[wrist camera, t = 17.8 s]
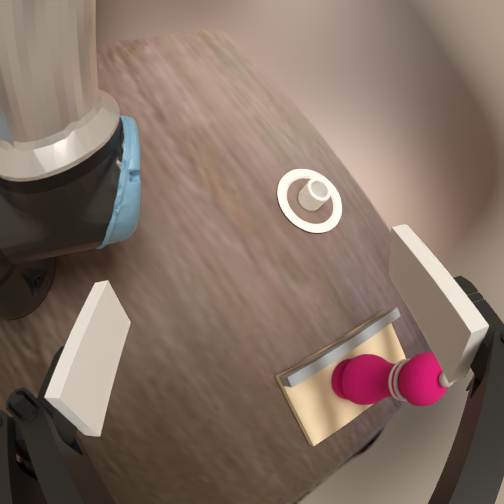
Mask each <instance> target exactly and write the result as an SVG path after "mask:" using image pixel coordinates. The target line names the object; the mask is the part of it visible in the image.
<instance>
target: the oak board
mask: <svg viewBox="0 0 504 504" xmlns="http://www.w3.org/2000/svg"><path fill="white" fill-rule="evenodd" d="M400 316H401V315H400V313H399V311H398V308H397V307H396V308H393V309H389V310H386V311H382V312H379V313H378V314H377V315H375V316H374V317H372V318H371V319H369V320H368V321H366V322H365V323H363V324H362V325H360V326H358V327H357V328H355V329H354V330H352V331H351V332H349V333H348V334H346V335H344V336H343V337H341V338H340V339H338V340H336V341H335V342H333V343H332V344H330V345H328V346H327V347H325V348H323V349H322V350H320V351H318V352H317V353H315V354H313V355H312V356H310V357H308V358H306V359H305V360H303V361H301V362H299V363H298V364H296V365H294V366H292V367H291V368H289V369H287V370H285V371H283V372H282V373H280V374H278V375H276V376H275V377H276V379H277V381H278V383H279V385H280V387H281V389H282V391H283V393H284V395H285V397H286V399H287V401H288V403H289V405H290V407H291V409H292V411H293V413H294V415H295V417H296V419H297V421H298V423H299V425H300V427H301V429H302V431H303V433H304V435H305V437H306V439H307V441H308V443H309V444H311V445H313V446H315V445H316V444H318V443H319V442H321V441H322V440H324V439H325V438H327V437H328V436H330V435H331V434H333V433H334V432H336V431H337V430H339V429H340V428H341V427H343V426H344V425H346V424H347V423H348V422H350V421H351V420H353V419H354V418H355V417H357V416H358V415H359V414H361V413H362V412H363V411H365V410H366V409H367V408H369V407H370V406H371V405H372V404H371V405H358V404H355V403H353V402H351V401H350V400H346V399H342V398H340V397H339V396H337V395H336V393H335V392H334V390H333V387H332V382H331V380H332V374H333V371H334V369H335V367H336V366H337V365H338V364H339V363H340V362H341V361H343V360H345V359H351V358H355V357H356V356H359V355H362V354H374V355H377V356H380V357H382V358H384V359H385V360H387V361H388V362H390V363H394V364H396V363H397V362H398V361H400V360H402V359H406V358H405V355H404V353H403V350H402V348H401V345H400V343H399V341H398V338H397V336H396V334H395V331H394V329H393V327H392V324H391V323H392V322H393V321H394V320H396V319H397V318H398V317H400Z"/></svg>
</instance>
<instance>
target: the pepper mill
mask: <svg viewBox="0 0 504 504" xmlns="http://www.w3.org/2000/svg"><path fill="white" fill-rule="evenodd" d="M331 382H332V387H333V390H334V392H335V393H336V395H337V396H339V397H340V398H342V399H346V400H350V401H351V402H353V403H355V404H358V405H371V404H374V403H377V402H379V401H381V400H382V399H384V398H385V397H389V396H393V397H394V398H395V399H397V400H399V401H408V402H409V403H411V404H413V405H416V406H428V405H432V404H434V403H435V402H437V401H438V400H439V399H441V398H442V396H443V395H444V394H445V392H446V390H447V388H448V387H449V386H451V385H452V384H453V383H454V382H452V383H449V382H448V380H447V378H446V376H445V374H444V372H443V370H442V369H441V367H440V365H439V363H438V361H437V359H436V357H435V355H434V353H421V354H417V355H416V356H414V357H413V358H411V359H402V360H400V361H398V362H397V363H396V364H394V363H390V362H388V361H387V360H385V359H384V358H382V357H380V356H377V355H374V354H362V355H359V356H356V357H355V358H351V359H345V360H343V361H341V362H340V363H339V364H338V365H337V366H336V367H335V369H334V371H333V374H332V380H331Z"/></svg>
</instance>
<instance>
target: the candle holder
mask: <svg viewBox="0 0 504 504" xmlns="http://www.w3.org/2000/svg"><path fill="white" fill-rule="evenodd" d="M300 178H309V179H311V180H310V181H309V182H308V183H307V184H306V185H305V186H304V187H303V189H302V190H301V191H300V192H299V195H298V200H299V203H300V205H301V206H302V207H303V208H304V209H306V210H309V211H315V210H317V209H318V208H319V207H321V206H322V205H323V204H324V203H325V202H326V201H327V200H328V199H329V197H330V195H331V198H332V201H333V213H332V215H331V217H330V218H329V219H328V220H327V221H326V222H324V223H321V224H311V223H308V222H305V221H303V220H301V219H300V218H299V217H297V216H296V215H295V214H294V212H293V211H292V210H291V208H290V206H289V204H288V201H287V190H288V187H289V186H290V184H291V183H292V182H293V181H295V180H297V179H300ZM277 195H278V201H279V204H280V207H281V209H282V211H283V212H284V214H285V215H286V216H287V218H288V219H289V220H290V221H291V222H292V223H293V224H295V225H296V226H298V227H299V228H301V229H303V230H306V231H309V232H313V233H323V232H327V231H329V230H331V229H333V228H334V227H335V226H336V225H337V224H338V222H339V220H340V218H341V214H342V203H341V198H340V195H339V194H338V192H337V190H336V188H335V187H334V185H333V184H332V183H331V182H330V181H329V180H327V179H326V178H325V177H324V176H322V175H321V174H319V173H317V172H314V171H311V170H307V169H296V170H292V171H290V172H288V173H287V174H285V175H284V176H283V177H282V179H281V180H280V182H279V185H278V190H277Z"/></svg>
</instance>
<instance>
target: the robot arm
mask: <svg viewBox="0 0 504 504" xmlns="http://www.w3.org/2000/svg"><path fill="white" fill-rule="evenodd" d="M139 174H140V145H139V135H138V129H137V124H136V122H135V120H134V119H133V118H132V117H129V116H123V115H120V112H119V106H118V104H117V102H116V101H115V99H114V98H113V97H112V96H111V95H109V94H108V93H106V92H104V91H102V90H100V89H98V76H97V59H96V33H95V0H0V318H2V319H9V320H11V319H18V318H21V317H24V316H26V315H28V314H29V313H31V312H32V311H34V310H35V309H36V308H37V307H38V306H39V305H40V304H41V303H42V301H43V300H44V298H45V297H46V295H47V293H48V292H49V289H50V287H51V284H52V281H53V278H54V273H55V257H56V256H61V255H66V254H71V253H76V252H81V251H86V250H91V249H101V248H103V247H104V246H106V245H108V244H112V243H116V242H120V241H124V240H126V239H128V238H130V237H131V236H132V235H133V234H134V232H135V231H136V229H137V226H138V222H139V217H140V204H141V181H140V176H139ZM389 278H390V279H391V281H392V283H393V284H394V286H395V287H396V289H397V291H398V292H399V294H400V296H401V297H402V299H403V301H404V302H405V304H406V306H407V307H408V309H409V311H410V312H411V314H412V316H413V317H414V319H415V321H416V323H417V324H418V326H419V328H420V330H421V331H422V333H423V335H424V337H425V339H426V340H427V342H428V344H429V346H430V348H431V350H432V351H433V353H434V355H435V357H436V359H437V361H438V363H439V365H440V367H441V369H442V370H443V372H444V374H445V376H446V378H447V380H448V382H449V383H452V382H454V381H457V380H459V379H461V378H464V377H466V375H467V373H468V371H469V369H470V367H471V369H472V371H473V372H474V376H473V378H472V380H471V381H470V383H469V385H468V387H467V389H466V391H468V390H469V389H470V390H469V393H468V397H467V401H466V405H465V408H464V412H463V415H462V418H461V422H460V425H459V428H458V431H457V434H456V437H455V440H454V443H453V446H452V449H451V451H450V454H449V457H448V459H447V462H446V464H445V467H444V469H443V472H442V474H441V476H440V479H439V481H438V483H437V485H436V488H435V490H434V492H433V494H432V496H431V499H430V501H429V503H428V504H495V501H496V498H497V495H498V492H499V489H500V486H501V483H502V480H503V476H504V324H503V323H502V321H501V320H500V318H498V316H497V314H496V313H495V312H494V311H493V309H492V308H491V307H490V305H489V304H488V303H487V302H486V300H484V299H483V296H482V295H481V294H480V293H478V290H477V289H476V288H475V287H474V285H473V284H472V283H471V282H470V281H468V280H467V279H465V278H463V277H462V276H458V277H455V278H452V276H451V275H450V274H449V273H448V272H447V270H446V269H445V268H444V267H443V265H442V264H441V263H440V262H439V261H438V259H437V258H436V257H435V256H434V255H433V254H432V252H431V251H430V250H429V249H428V248H427V247H426V246H425V245H424V243H423V242H422V241H421V240H420V239H419V238H418V237H417V235H416V234H415V233H414V232H413V231H412V230H411V229H410V228H409V227H408V226H407V225H406V224H405V225H400V226H395V227H392V228H391V248H390V263H389ZM130 323H131V322H130V320H129V318H128V317H127V315H126V313H125V311H124V309H123V307H122V306H121V304H120V302H119V300H118V298H117V296H116V294H115V293H114V291H113V289H112V287H111V285H110V283H109V281H108V280H107V281H102V282H96V283H95V284H94V286H93V288H92V290H91V292H90V294H89V296H88V298H87V300H86V302H85V304H84V306H83V308H82V310H81V312H80V314H79V316H78V318H77V321H76V323H75V325H74V327H73V329H72V331H71V334H70V336H69V338H68V340H67V343H66V345H65V346H62V347H61V348H60V349H59V350H58V352H57V353H56V354H55V356H54V358H53V360H52V363H51V367H49V370H48V372H47V373H48V374H46V377H45V379H44V382H43V384H42V387H41V389H40V392H39V395H38V397H37V399H36V398H35V397H34V396H33V395H32V394H31V393H30V392H29V391H28V390H27V389H25V388H19V389H17V390H15V391H14V392H13V393H12V394H11V395H10V397H9V398H8V400H7V403H6V409H7V410H8V411H9V412H10V413H11V414H12V415H13V417H10V416H8V415H7V414H6V413H5V412H4V411H0V504H116V503H115V501H114V499H113V498H112V496H111V495H110V493H109V491H108V490H107V488H106V486H105V485H104V483H103V481H102V480H101V478H100V476H99V475H98V473H97V471H96V469H95V467H94V466H93V464H92V462H91V460H90V458H89V456H88V454H87V452H86V450H85V449H84V447H83V445H82V443H81V441H80V439H79V438H78V436H77V435H76V431H77V429H79V430H80V431H81V432H82V433H83V434H84V435H88V436H100V435H101V431H102V426H103V422H104V418H105V414H106V409H107V405H108V401H109V397H110V393H111V389H112V386H113V382H114V378H115V374H116V371H117V367H118V364H119V360H120V357H121V353H122V350H123V346H124V343H125V339H126V336H127V333H128V330H129V326H130ZM16 455H17V456H19V457H20V462H18V461H16Z"/></svg>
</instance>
